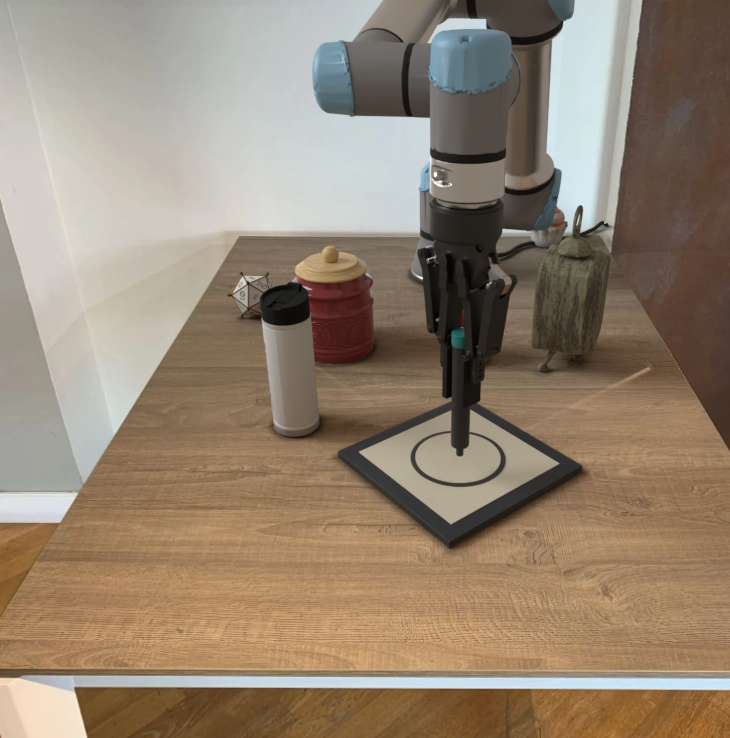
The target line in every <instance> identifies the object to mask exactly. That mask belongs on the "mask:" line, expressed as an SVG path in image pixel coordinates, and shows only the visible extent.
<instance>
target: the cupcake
mask: <svg viewBox="0 0 730 738" xmlns="http://www.w3.org/2000/svg"><path fill="white" fill-rule="evenodd" d="M568 226H569V222H568V220H567V221H566V216H565V214H564V211H563V210H561V209H560V208H559V207H558V205H557V206H556V211H555V215H554V219H553V222H552V224H551V226H550V227H549V228H548V229H546V230H543V231H536V230H532V231H529V233H530V241H534V242H535V245H534V246H535V247H538V248H544V249H548V248H549V247H550V245H551V244H555V245H559V244H560V242H561V240H562V237H564V234H565V232H566V230H567V228H568Z"/></svg>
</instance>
